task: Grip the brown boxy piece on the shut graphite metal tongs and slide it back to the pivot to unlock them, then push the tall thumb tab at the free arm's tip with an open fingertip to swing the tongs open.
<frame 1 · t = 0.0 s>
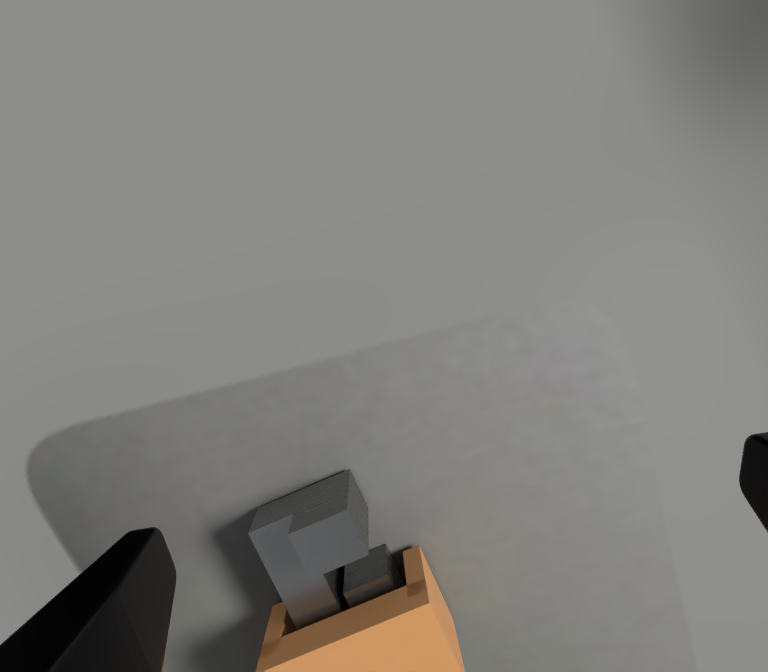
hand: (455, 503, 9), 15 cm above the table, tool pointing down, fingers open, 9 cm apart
brown boxy piece: (363, 643, 23), point 2 cm above the table, slide at 9.5 cm
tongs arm: (360, 634, 24), point 2 cm above the table, hinge at 0.0°
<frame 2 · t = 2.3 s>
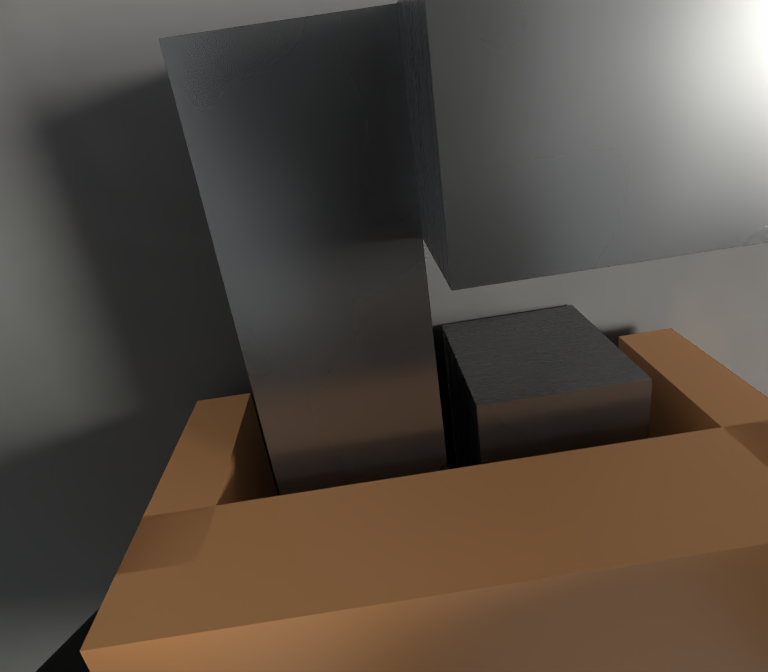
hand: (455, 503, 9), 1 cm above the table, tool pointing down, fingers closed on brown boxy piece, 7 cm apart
brown boxy piece: (473, 569, 7), point 2 cm above the table, slide at 9.5 cm, touching gripper
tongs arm: (467, 540, 7), point 2 cm above the table, hinge at 0.0°
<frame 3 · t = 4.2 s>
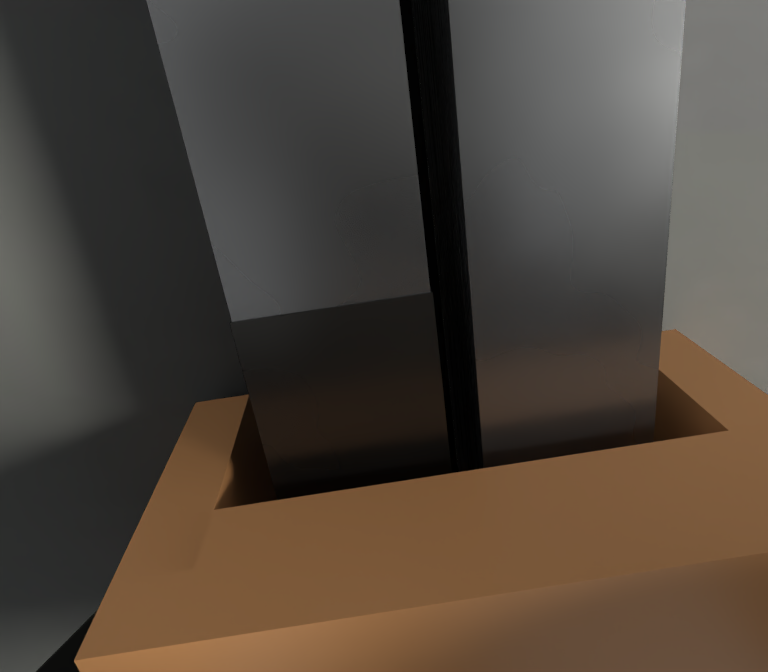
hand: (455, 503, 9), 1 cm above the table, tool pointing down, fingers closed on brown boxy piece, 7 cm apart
brown boxy piece: (475, 573, 7), point 2 cm above the table, slide at 3.6 cm, touching gripper
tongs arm: (421, 40, 5), point 2 cm above the table, hinge at 0.0°
tongs fixed: (457, 575, 10), on the table
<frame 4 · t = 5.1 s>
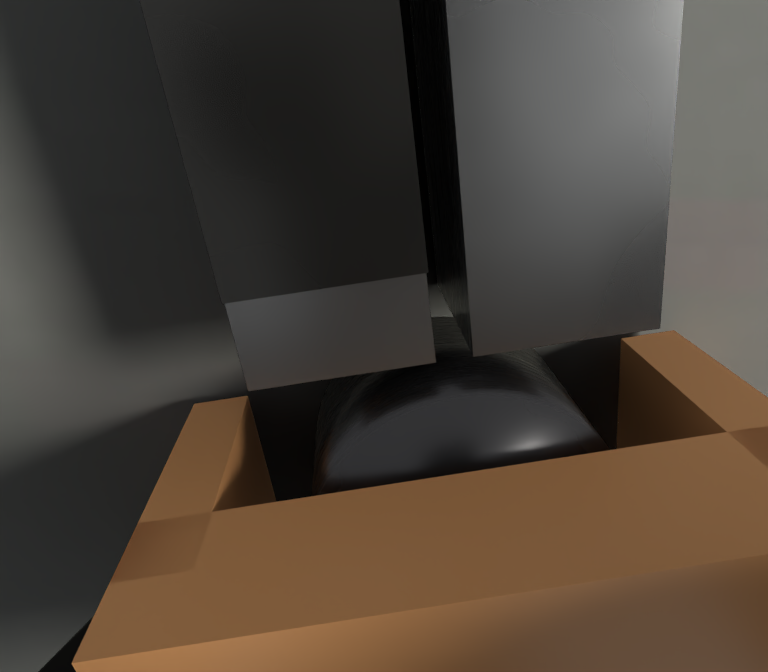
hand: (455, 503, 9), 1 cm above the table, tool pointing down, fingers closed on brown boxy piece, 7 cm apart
brown boxy piece: (474, 574, 7), point 2 cm above the table, slide at 0.3 cm, touching gripper
tongs fixed: (440, 431, 9), on the table
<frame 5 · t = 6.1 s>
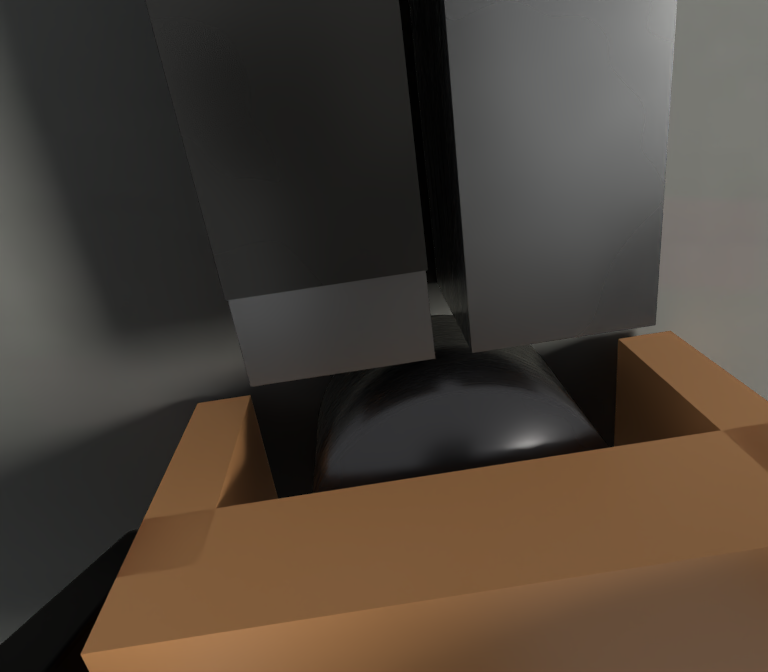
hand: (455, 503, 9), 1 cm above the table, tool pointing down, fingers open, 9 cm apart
brown boxy piece: (473, 571, 7), point 2 cm above the table, slide at 0.3 cm
tongs fixed: (439, 428, 9), on the table
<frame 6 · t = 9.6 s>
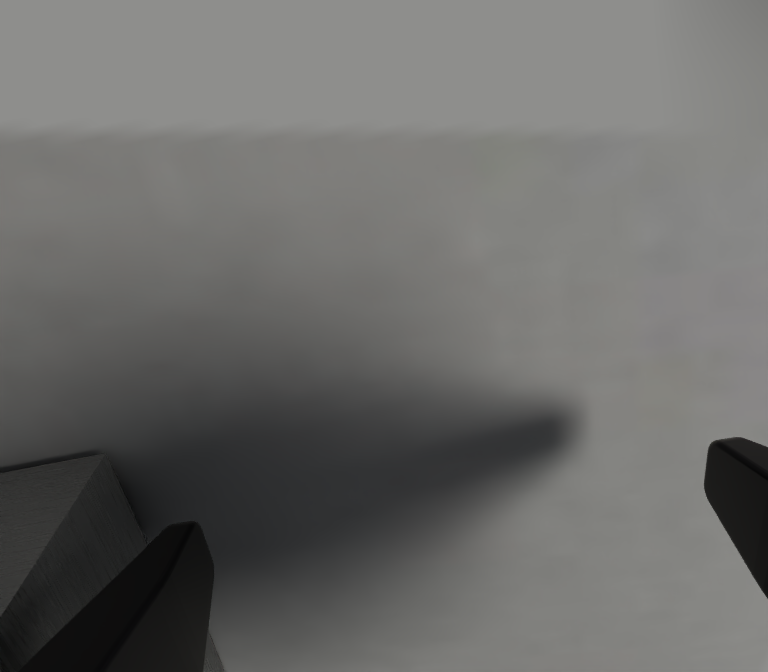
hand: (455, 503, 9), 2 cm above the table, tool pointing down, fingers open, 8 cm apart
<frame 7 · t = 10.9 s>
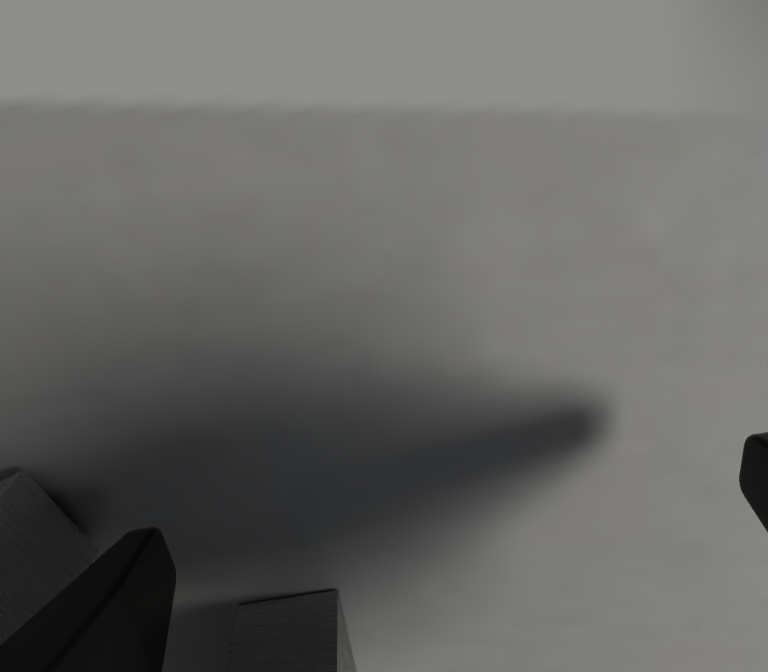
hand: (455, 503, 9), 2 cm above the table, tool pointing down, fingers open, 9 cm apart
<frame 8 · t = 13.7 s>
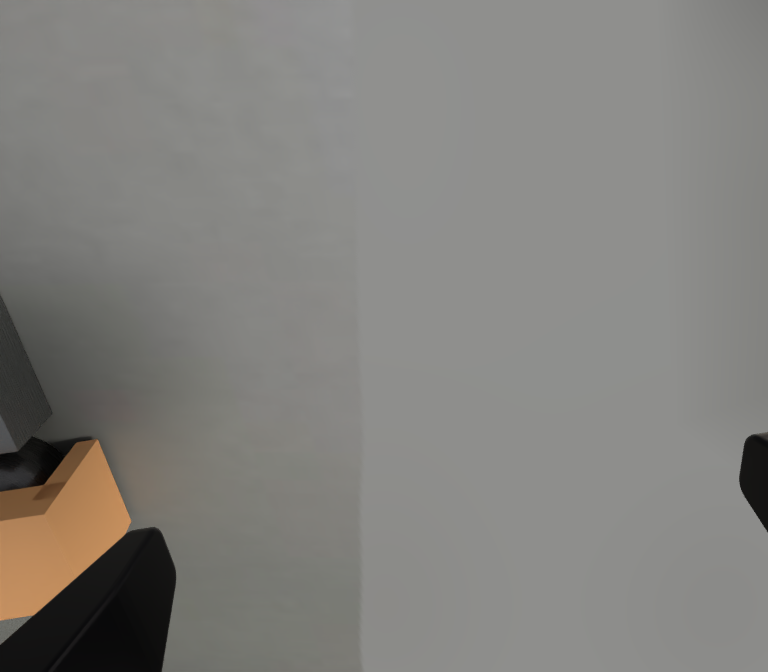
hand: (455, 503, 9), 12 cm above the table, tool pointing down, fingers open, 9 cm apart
tongs fixed: (20, 476, 22), on the table
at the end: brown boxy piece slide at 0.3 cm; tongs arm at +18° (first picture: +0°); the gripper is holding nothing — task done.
